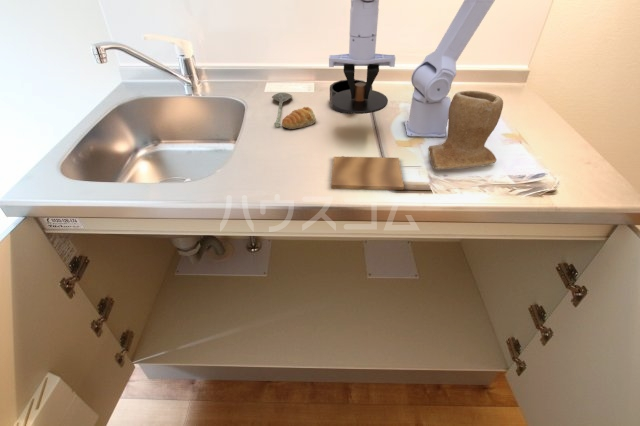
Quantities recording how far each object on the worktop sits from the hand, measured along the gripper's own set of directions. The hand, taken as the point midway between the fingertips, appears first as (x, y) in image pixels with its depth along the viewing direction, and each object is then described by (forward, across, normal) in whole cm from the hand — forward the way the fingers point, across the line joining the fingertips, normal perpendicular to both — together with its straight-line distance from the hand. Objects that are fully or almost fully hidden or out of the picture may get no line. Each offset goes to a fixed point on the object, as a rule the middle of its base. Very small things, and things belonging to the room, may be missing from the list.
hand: (359, 97), depth 76 cm
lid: (+1, 0, 0) cm, 1 cm away
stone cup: (+11, -23, +10) cm, 27 cm away
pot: (+10, +2, -20) cm, 23 cm away
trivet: (+10, -2, +17) cm, 20 cm away
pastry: (+11, +16, -7) cm, 21 cm away
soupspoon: (+11, +23, -15) cm, 30 cm away
